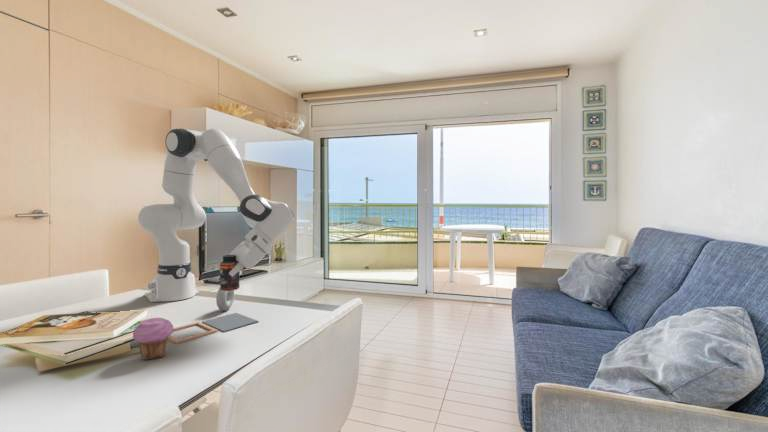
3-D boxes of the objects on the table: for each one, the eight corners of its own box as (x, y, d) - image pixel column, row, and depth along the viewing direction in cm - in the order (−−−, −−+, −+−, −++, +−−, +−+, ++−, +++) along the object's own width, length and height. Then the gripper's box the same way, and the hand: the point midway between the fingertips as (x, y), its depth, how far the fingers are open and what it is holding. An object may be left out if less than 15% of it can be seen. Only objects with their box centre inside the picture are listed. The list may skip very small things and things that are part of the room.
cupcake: (131, 366, 88) (131, 326, 87) (135, 353, 95) (134, 316, 95) (174, 358, 92) (173, 320, 92) (173, 346, 100) (173, 311, 99)
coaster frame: (158, 333, 109) (158, 332, 109) (199, 323, 118) (199, 321, 118) (176, 343, 102) (176, 341, 102) (217, 331, 111) (217, 329, 111)
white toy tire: (224, 314, 128) (223, 286, 127) (214, 314, 128) (214, 286, 128) (236, 306, 138) (235, 280, 137) (227, 306, 138) (227, 280, 138)
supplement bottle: (243, 287, 122) (242, 254, 121) (233, 291, 116) (233, 257, 115) (226, 286, 122) (225, 253, 122) (216, 291, 117) (216, 256, 116)
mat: (202, 322, 119) (202, 321, 119) (235, 313, 129) (235, 312, 129) (224, 332, 111) (224, 331, 111) (258, 322, 120) (258, 320, 120)
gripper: (243, 233, 131) (214, 262, 126) (259, 238, 114) (226, 272, 109) (256, 244, 134) (228, 273, 129) (273, 251, 117) (242, 284, 112)
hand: (227, 273), depth 119 cm, fingers closed on supplement bottle, 6 cm apart
